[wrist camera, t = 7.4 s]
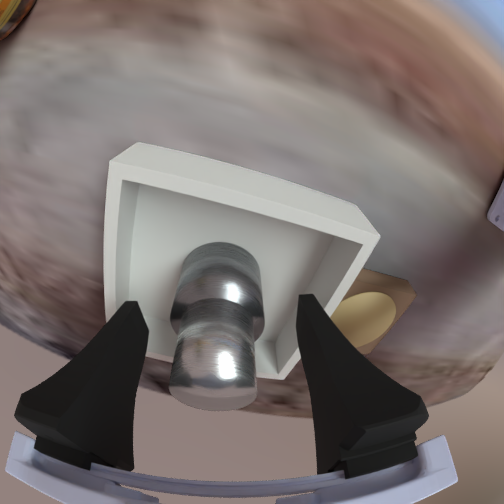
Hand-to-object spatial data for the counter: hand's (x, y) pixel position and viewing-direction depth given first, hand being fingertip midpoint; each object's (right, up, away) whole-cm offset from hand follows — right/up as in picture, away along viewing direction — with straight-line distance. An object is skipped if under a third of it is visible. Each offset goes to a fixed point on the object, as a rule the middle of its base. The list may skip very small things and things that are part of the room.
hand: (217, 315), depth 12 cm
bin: (0, +2, +3) cm, 4 cm away
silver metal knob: (0, +2, +3) cm, 3 cm away
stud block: (+8, -1, +5) cm, 10 cm away
